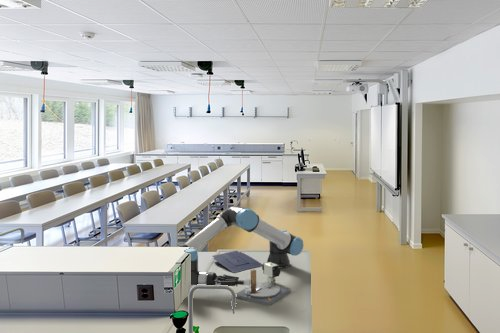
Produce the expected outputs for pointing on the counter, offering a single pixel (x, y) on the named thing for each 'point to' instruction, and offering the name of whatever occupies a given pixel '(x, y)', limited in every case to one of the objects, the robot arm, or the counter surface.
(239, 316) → the counter surface
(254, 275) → the peg stand
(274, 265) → the pneumatic valve
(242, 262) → the dark blue flat panel
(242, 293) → the dial plate
